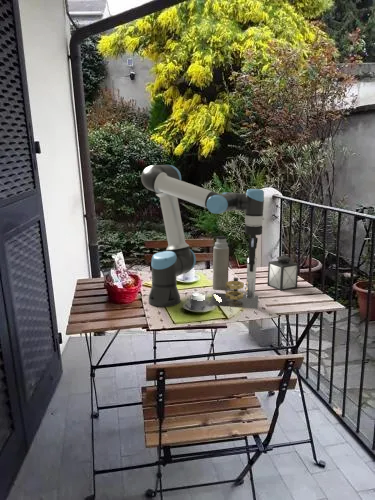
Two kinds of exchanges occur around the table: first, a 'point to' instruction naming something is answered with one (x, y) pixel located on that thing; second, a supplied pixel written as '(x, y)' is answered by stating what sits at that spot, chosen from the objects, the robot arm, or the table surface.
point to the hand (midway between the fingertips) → (251, 276)
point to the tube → (251, 283)
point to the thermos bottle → (220, 263)
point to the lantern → (282, 273)
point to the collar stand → (234, 297)
